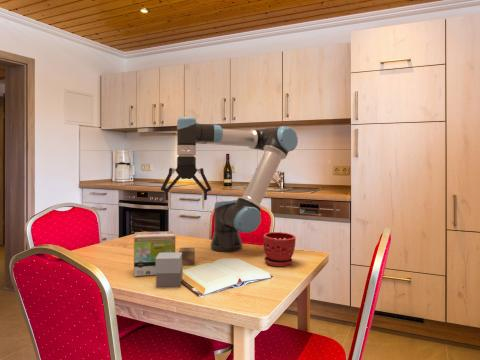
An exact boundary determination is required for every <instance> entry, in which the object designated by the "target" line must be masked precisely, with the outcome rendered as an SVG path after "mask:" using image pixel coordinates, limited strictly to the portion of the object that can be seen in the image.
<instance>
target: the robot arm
mask: <svg viewBox="0 0 480 360" xmlns="http://www.w3.org/2000/svg"><path fill="white" fill-rule="evenodd" d="M297 135H298V134H297V132H296V131H295V130H294V128H293V127H290V126H285V125H282V126H277V127H268V128H261V129H260V128H259V129H253V128H252V129H250V130H240V129H239V130H238V129H237V130H236V129H230V128H229V129H228V128H223V127H222V126H221V125H219V124H214V123H213V124H208V123H207V124H206V123H197V120H196V118H195V117H188V116H187V117H185V116H183V117H179V118H178V119H177V123H176V139H177V140H176V141H177V142H176V143H177V144H176V146H177V147H176V155H177V157H176V168H175V167H174V168H172V167H170V168H169V169H168V174H167V176H166V177H165V180H164V182H163V184H162V186H161V188H160V191H162V192H164V193H165V199H164V200H165V201H167V204H168V205H167V206H168V207H167V209H168V210H169V209H171V208H172V206H171V205H172V192H171V189H172V188H173V187H174V186H176V185H175V184H177V183H178V181H179V180H180V179H182V180H186V179H187V180H191V179H193V180H194V182H195V183H196V184H197V185H198V187H200V188H201V190H202V192H201V208H202V210H204V209H205V201H207V200H208V192H211V191H212V187H211V184H210V182H209V180H208V179H207V177H206V175H205V173H204V172H205V170H204V168H203V167H200V168H197V164H196V163H197V161H196V160H197V158H196V157H195V156H196V153H197V146H196V145H197V144H199V145H200V144H201V145H204V144H205V145H217V146H218V145H219V146H236V147H248V149H250V150H260V151H264V153H263V154H262V157H261V158H260V160H259V163H258V165H257V167H256V169H255V171H254V173H253V175H252V177H251V179H250V181H249V183H248V185H247V187H246V189H245V191H244V193H243V195H242V196H239V197H238V198H237V199H236V200H223V201H216V202H214V208H213V210H214V213H213V214H214V220H213V221H214V224H213V225H214V232H213V236H212V238H211V242H210V249H211V250H213V251H214V252H220V253H222V252H223V253H230V252H238V251H240V250H242V249H243V242H242V239H241V235H240V233H246V234H247V233H248V234H249V233H252V232H254V231H256V230H257V229H258V227H259V226H260V224H261V222H262V217H261V216H262V215H261V211H262V206H261V203H262V201H263V199H264V197H265V195H266V192H267V190H268V188H269V186H270V184H271V182H272V180H273V178H274V175H276V174H275V173H276V172H277V170H278V167H279V165H280V163H281V161H282V160H285V159H286V158H287V156H288V154H289V152H292V151H294V150H296V148H297V146H298V141H299V138H298V136H297ZM175 172H176V174H177V176H176V177H175V178H174V179H173V181H172V182H171V183H170V184H169V185H168V183H169V181H170V180H171V177H172V176H173V175H174V174H175ZM196 173H198V174H200V175H201V178H202V180H203V182H204V184H205V186H206V187H205V186H204V185H203V183H202V182H201V181H200V180H199V179H198V178H197V176H196V175H195V174H196ZM167 186H168V187H167ZM239 232H240V233H239Z"/></svg>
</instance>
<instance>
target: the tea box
mask: <svg viewBox="0 0 480 360" xmlns="http://www.w3.org/2000/svg"><path fill="white" fill-rule="evenodd" d="M133 233H134V234H133V235H134V236H133V274H134V277H140V276H141V277H142V276H143V277H144V276H156V257H157V255H158V254H159V253H170V252H176V235H175V233H174V231H171V230H170V231H169V230H168V231H146V232H145V231H142V232H140V231H139V232H137V231H136V232H133Z"/></svg>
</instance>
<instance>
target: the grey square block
mask: <svg viewBox="0 0 480 360" xmlns="http://www.w3.org/2000/svg"><path fill="white" fill-rule="evenodd" d="M181 268H182V269H183V266H182V252H179V251H177V252H176V251H175V252H170V253H159V254H158V255H157V257H156V273H180V271H181Z"/></svg>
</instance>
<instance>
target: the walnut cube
mask: <svg viewBox="0 0 480 360" xmlns="http://www.w3.org/2000/svg"><path fill="white" fill-rule="evenodd" d="M178 252H182V267H185V266H186V267H188V266H195V261H196V259H195V258H196V254H195V253H196V250H195V247H180V248H179V250H178Z"/></svg>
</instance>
